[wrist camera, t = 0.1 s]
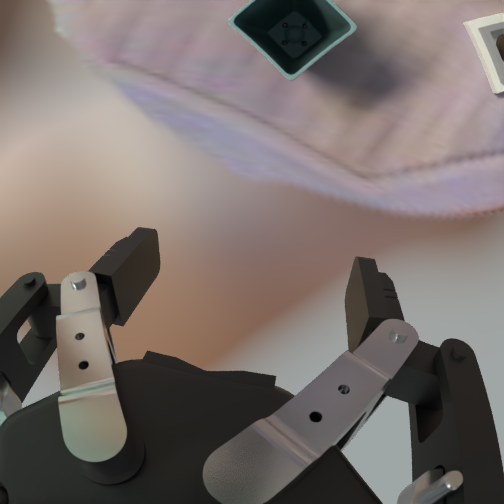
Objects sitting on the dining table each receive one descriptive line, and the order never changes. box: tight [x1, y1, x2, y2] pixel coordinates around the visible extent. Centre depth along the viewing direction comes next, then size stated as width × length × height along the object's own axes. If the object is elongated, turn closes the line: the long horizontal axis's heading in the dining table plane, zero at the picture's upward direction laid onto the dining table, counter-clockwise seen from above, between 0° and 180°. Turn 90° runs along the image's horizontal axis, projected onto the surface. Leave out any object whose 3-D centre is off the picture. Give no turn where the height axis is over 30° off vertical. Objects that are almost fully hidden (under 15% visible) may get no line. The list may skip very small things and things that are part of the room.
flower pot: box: [228, 0, 357, 81], centre depth 27 cm, size 9×9×9 cm
